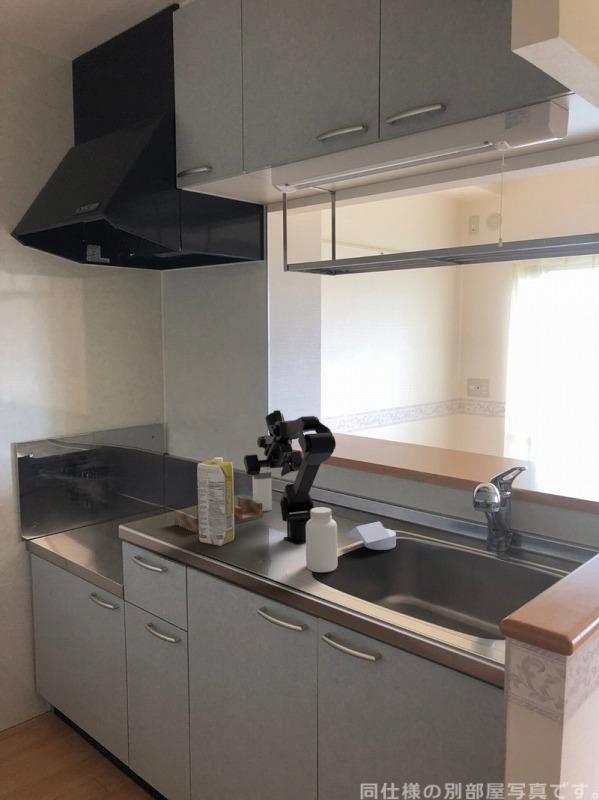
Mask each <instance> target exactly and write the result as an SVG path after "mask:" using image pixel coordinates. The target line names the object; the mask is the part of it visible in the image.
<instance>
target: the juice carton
mask: <svg viewBox="0 0 599 800" xmlns="http://www.w3.org/2000/svg"><path fill="white" fill-rule="evenodd" d="M196 473H197V474H196V475H197V506H198V517H199V533H198V536H199V541H200V542H201V543H203V544H204V543H205V544H209V545H210V544H211V545H214V546H219V547H221V546H224V545H226V544H229V543H230V542H232V541H234V539H235V524H234V505H235V494H234V491H235V488H234V483H235V482H234V467H233V462H231V461H230V462H229V461H228V462H227V461H225V462H224V458H223V457H213V459H210V460H209V459H208V460H205V461H202V462H199V463H197V472H196Z"/></svg>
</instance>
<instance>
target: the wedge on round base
mask: <svg viewBox="0 0 599 800" xmlns="http://www.w3.org/2000/svg"><path fill="white" fill-rule="evenodd" d="M345 535H346V536H348V537H351V538H353V539H356V540H358V541H360V542H363V543H364V545H365V546H364V545H363V546H364V547H365V548H367V549H371V550H377V551H384V550H385V551H386V550H391V549H394V548H395V547H396V545H397V533H396V531H394V530H392V529H390V528H385V526H383V523H382V522H381V521H375V522H371V523H366V524H362V525H358V526H357V525H356V526H355V527H353V528H352V529H351V530H349V532H347V533H345Z"/></svg>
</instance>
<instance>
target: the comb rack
mask: <svg viewBox="0 0 599 800" xmlns="http://www.w3.org/2000/svg"><path fill="white" fill-rule="evenodd" d="M263 516H264V515H263V512H262V503H260V502H257V501H254V500H253V499H250V498H247V497H244V496H241V495H239V496H237V505H235V504H234V525H236V524H240V523H244V522H247V521H252V520H255V519H259V518H263ZM174 524H176V525H175V526H177V525H179V526H178V527H180V526H181V527H180V528H182V527H183V529H184V528H186V529H185V530H187V529H188V530H187V531H189V530H190V531H189V532H191V531H193V532H192V533H194V532H195V533H194V534H196V533H197V534H199V517H198V505H196V516H194V515H191V514H189V513H186V512H184V511H181V510H179V509H176V510H174Z"/></svg>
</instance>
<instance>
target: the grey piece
mask: <svg viewBox="0 0 599 800" xmlns="http://www.w3.org/2000/svg"><path fill="white" fill-rule="evenodd" d="M272 476H273V475H272V471H270V470H269V469H268V468H262V469H260V475H259V476H258V477H257V479H254V475H252V500H254V501H257V502H260V503H262V513H263V512H271V511H273V492H272V490H273V487H272V486H273V485H272V483H273V482H272V480H273V479H272ZM270 510H271V511H270Z"/></svg>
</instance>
